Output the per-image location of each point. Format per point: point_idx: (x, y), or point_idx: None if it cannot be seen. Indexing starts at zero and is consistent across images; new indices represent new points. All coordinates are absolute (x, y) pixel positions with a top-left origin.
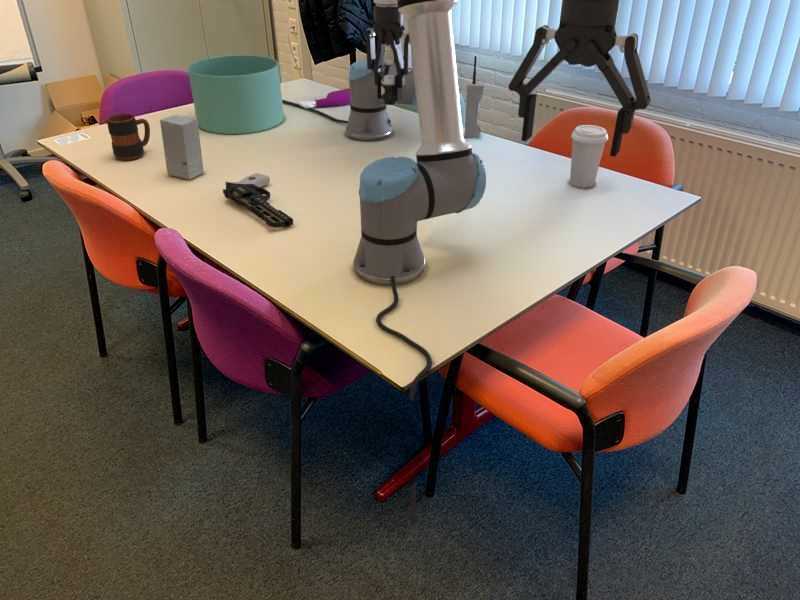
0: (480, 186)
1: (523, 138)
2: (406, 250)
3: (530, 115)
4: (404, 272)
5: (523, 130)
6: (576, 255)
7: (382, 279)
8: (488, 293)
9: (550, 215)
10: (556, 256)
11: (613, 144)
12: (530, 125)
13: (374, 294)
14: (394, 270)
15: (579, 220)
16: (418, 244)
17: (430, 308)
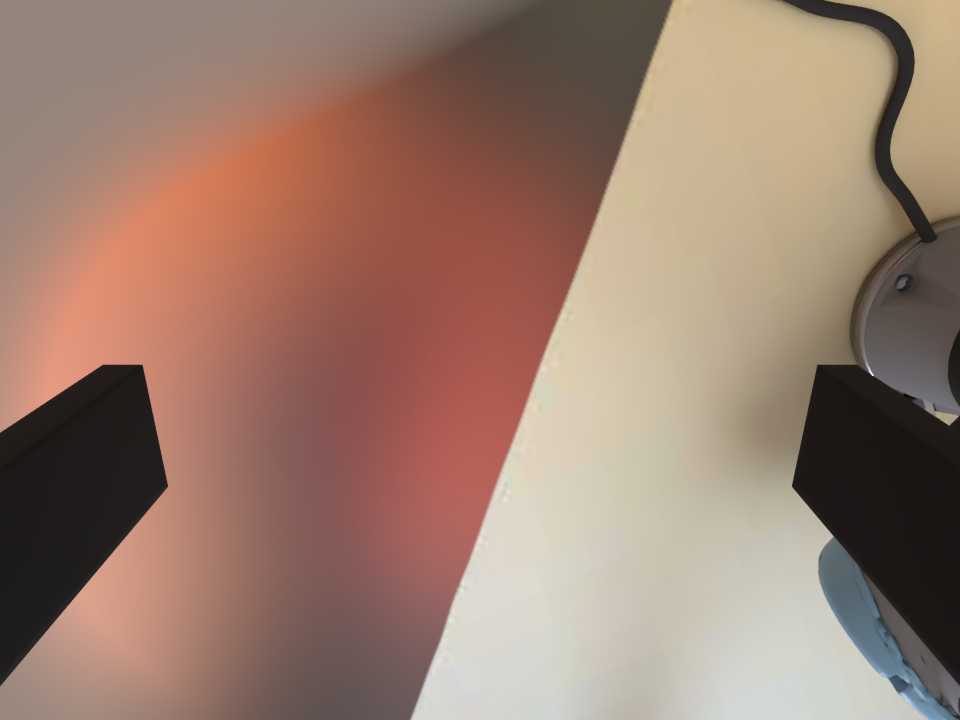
0: (848, 589)
1: (852, 371)
2: (947, 308)
3: (945, 518)
4: (907, 270)
5: (902, 400)
6: (515, 570)
7: (956, 224)
8: (660, 325)
9: (623, 703)
10: (556, 548)
11: (73, 403)
12: (865, 487)
13: (950, 174)
14: (941, 251)
15: (554, 708)
16: (918, 367)
17: (781, 188)
